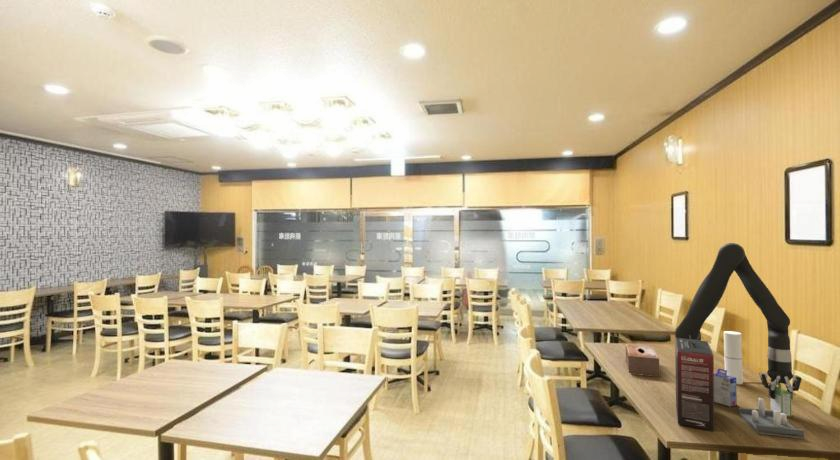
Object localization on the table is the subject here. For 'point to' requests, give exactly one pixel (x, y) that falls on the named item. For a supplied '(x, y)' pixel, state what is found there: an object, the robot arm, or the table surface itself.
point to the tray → (769, 421)
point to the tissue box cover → (642, 360)
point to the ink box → (781, 401)
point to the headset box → (694, 383)
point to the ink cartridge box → (725, 388)
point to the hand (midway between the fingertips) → (780, 399)
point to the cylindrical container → (733, 355)
